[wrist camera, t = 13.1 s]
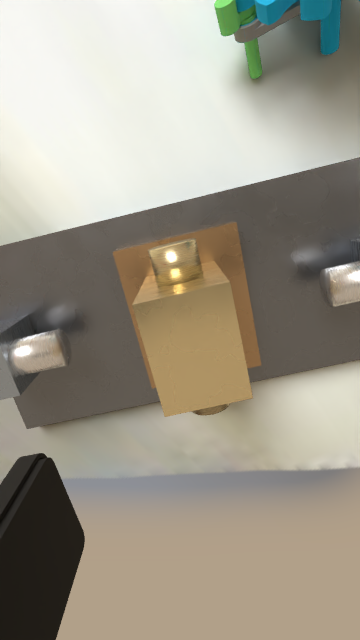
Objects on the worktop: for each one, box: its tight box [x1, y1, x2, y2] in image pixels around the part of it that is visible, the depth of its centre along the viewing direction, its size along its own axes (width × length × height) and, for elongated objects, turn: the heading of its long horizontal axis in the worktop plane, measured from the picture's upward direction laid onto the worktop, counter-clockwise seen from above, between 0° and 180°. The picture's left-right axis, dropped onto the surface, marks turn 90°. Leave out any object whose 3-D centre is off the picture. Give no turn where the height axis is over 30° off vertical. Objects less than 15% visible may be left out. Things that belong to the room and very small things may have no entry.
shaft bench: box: [0, 158, 360, 429], centre depth 23 cm, size 30×14×6 cm, turn 103°
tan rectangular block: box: [132, 238, 253, 417], centre depth 19 cm, size 4×10×7 cm, turn 14°
